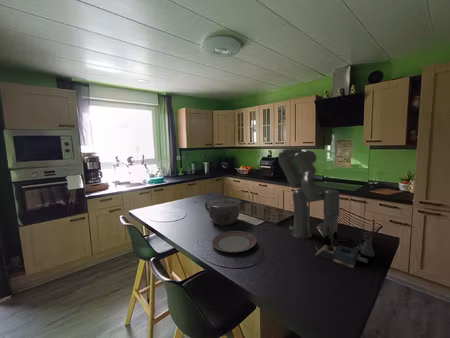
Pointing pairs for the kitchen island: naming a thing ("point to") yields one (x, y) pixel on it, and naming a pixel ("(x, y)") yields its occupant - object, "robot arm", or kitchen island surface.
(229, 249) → the dinner plate
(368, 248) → the flask
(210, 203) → the chamber pot
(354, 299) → the kitchen island surface
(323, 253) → the rubber pad
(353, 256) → the block
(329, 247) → the key peg
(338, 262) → the bench board
